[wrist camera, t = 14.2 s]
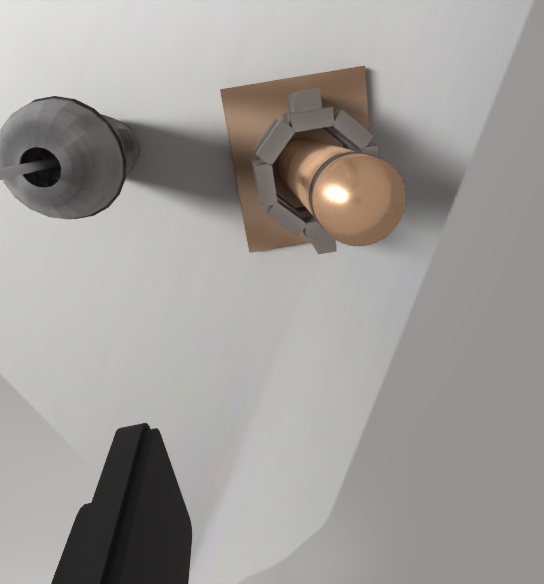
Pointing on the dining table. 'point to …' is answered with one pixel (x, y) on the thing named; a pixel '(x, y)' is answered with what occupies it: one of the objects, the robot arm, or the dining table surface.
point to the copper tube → (344, 190)
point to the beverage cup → (65, 157)
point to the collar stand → (278, 134)
